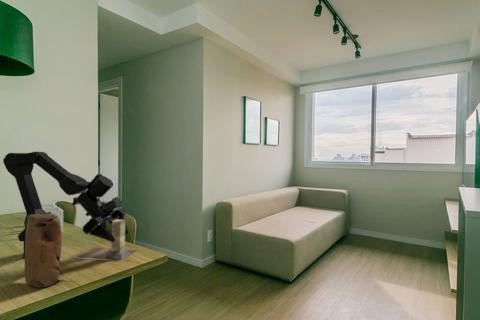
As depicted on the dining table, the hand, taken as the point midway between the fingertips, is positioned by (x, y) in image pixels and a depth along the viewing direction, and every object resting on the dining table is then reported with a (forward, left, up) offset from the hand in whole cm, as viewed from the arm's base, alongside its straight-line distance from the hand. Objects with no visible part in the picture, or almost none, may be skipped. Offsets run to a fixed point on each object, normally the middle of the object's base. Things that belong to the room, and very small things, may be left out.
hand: (121, 237), depth 99 cm
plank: (-5, +6, -8) cm, 11 cm away
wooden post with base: (-1, +1, -7) cm, 7 cm away
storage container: (-27, +61, -9) cm, 67 cm away
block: (-22, -7, -9) cm, 25 cm away
